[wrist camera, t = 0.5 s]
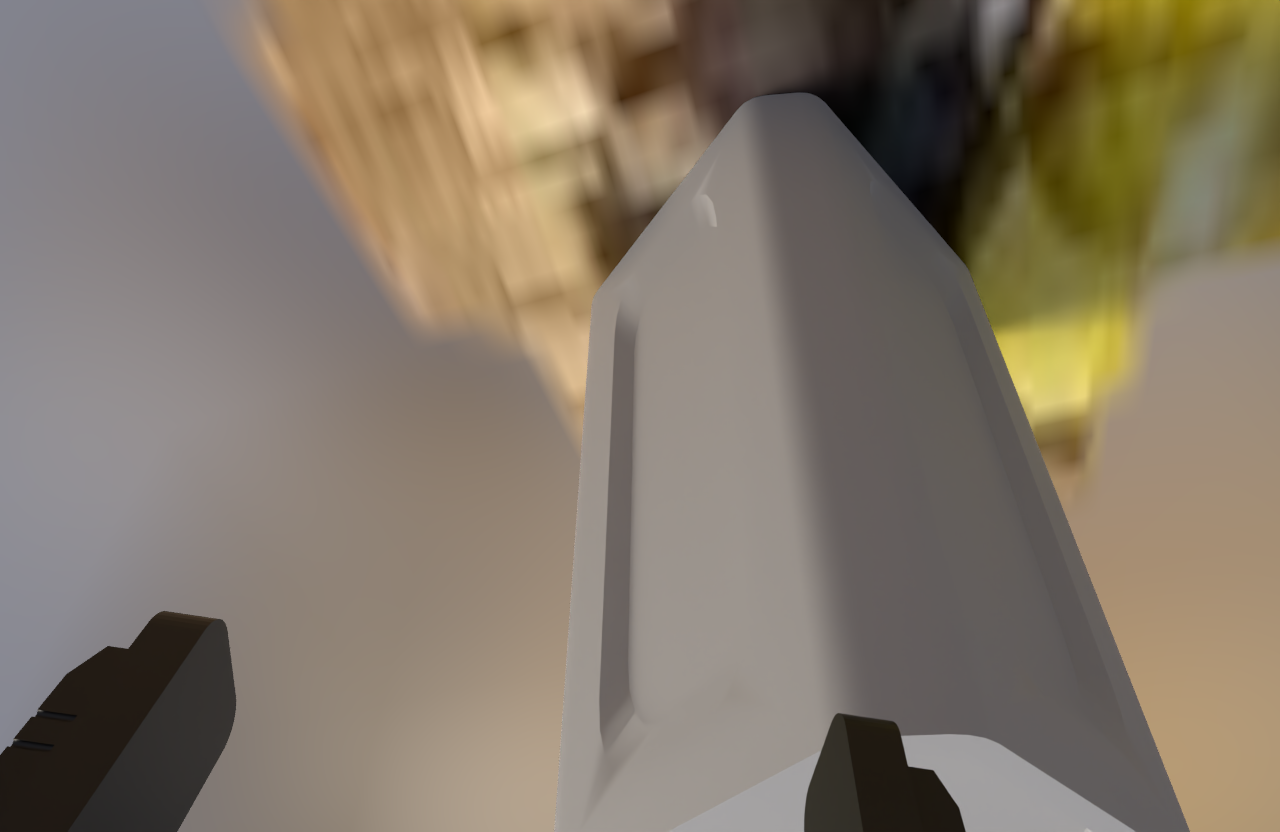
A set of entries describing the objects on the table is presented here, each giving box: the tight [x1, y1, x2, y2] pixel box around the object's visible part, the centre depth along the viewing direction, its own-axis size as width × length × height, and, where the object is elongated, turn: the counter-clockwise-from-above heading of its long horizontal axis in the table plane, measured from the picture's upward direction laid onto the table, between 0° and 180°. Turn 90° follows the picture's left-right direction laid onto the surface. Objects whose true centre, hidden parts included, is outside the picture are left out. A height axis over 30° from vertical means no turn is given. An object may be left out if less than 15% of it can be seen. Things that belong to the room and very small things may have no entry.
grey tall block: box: [554, 92, 1190, 832], centre depth 34 cm, size 19×15×28 cm
